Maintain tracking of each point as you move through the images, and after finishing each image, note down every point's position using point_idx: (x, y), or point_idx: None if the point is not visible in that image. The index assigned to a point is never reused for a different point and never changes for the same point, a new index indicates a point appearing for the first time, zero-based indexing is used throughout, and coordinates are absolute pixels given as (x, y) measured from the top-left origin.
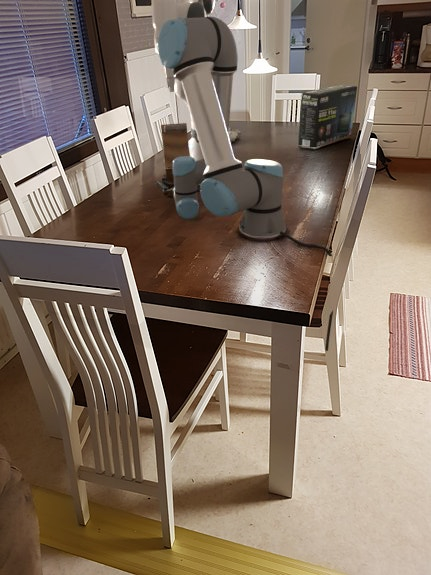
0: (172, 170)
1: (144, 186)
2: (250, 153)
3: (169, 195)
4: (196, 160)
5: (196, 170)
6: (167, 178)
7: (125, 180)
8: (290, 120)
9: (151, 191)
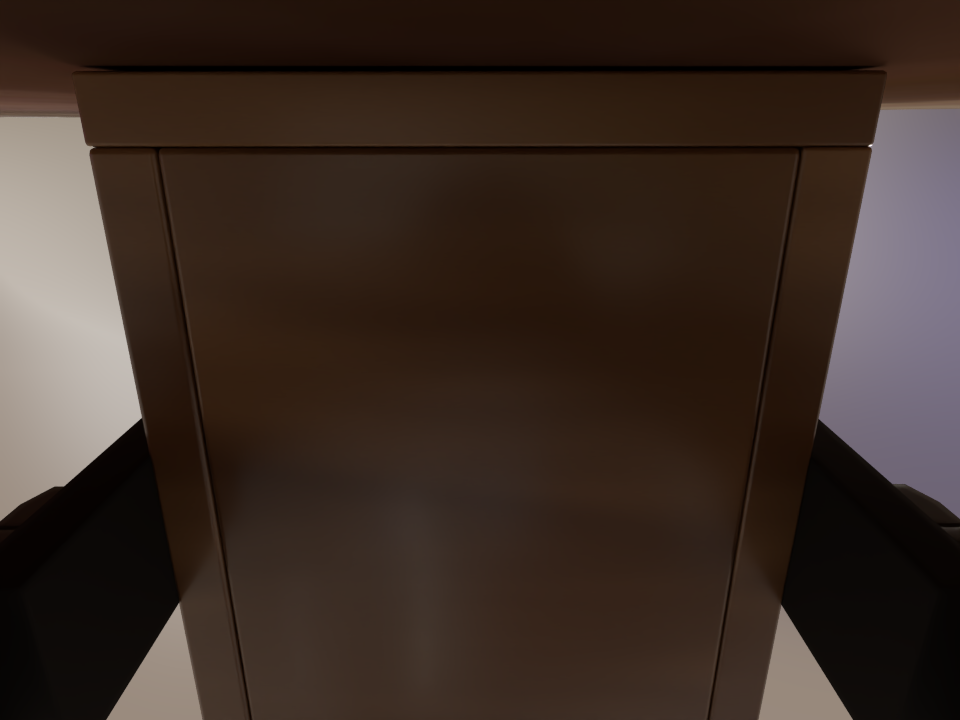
0: (611, 717)
1: (885, 102)
2: (23, 113)
3: (836, 107)
4: None
5: None
6: (763, 575)
7: (922, 108)
8: (44, 117)
9: (953, 93)
